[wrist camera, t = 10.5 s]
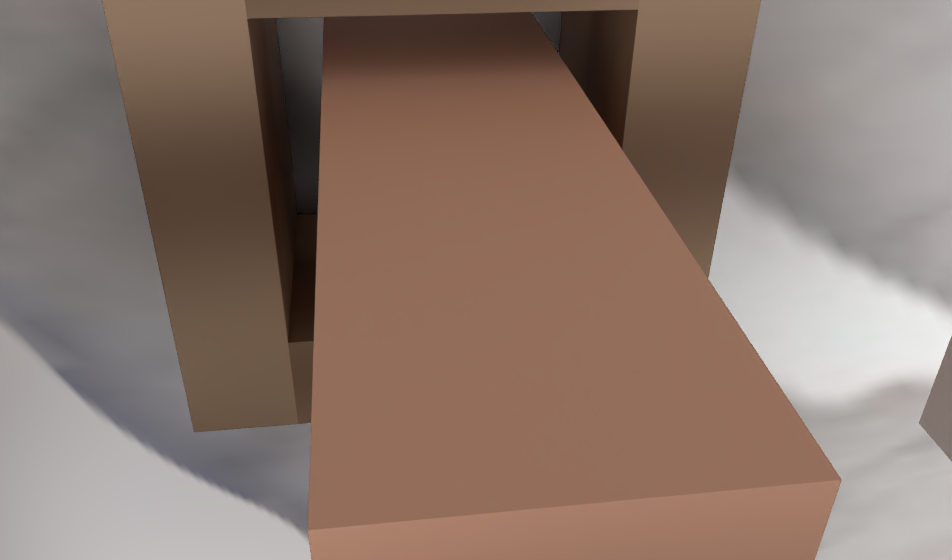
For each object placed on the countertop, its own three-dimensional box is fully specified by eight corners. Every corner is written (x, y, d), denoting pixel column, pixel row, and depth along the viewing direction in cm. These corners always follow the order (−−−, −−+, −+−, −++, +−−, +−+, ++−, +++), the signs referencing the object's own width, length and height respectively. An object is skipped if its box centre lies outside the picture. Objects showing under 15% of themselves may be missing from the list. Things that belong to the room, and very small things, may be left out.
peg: (510, 166, 20) (745, 763, 9) (338, 174, 20) (344, 818, 8) (517, -8, 18) (841, 479, 7) (324, -4, 18) (307, 529, 6)
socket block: (620, 267, 22) (686, 392, 18) (221, 291, 21) (194, 432, 17) (675, -168, 17) (785, -132, 13) (142, -170, 16) (73, -129, 12)
